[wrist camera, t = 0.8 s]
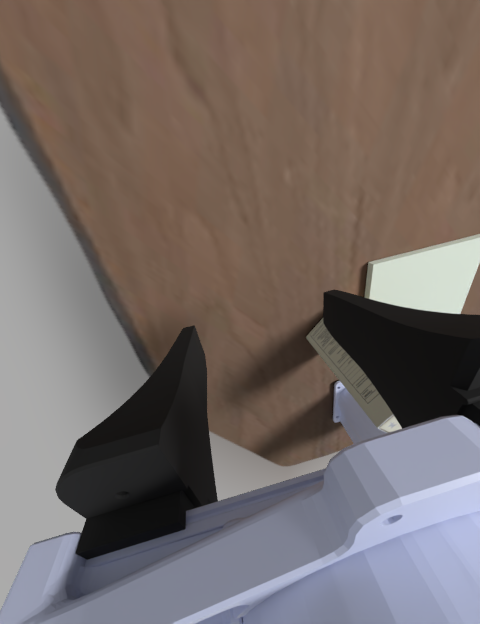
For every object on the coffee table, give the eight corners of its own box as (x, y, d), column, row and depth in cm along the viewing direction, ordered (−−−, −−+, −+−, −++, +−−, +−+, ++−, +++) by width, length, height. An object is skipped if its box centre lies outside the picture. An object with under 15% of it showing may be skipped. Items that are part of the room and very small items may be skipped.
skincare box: (326, 350, 29) (402, 444, 18) (303, 336, 27) (373, 432, 16) (363, 313, 27) (472, 394, 16) (342, 295, 25) (449, 374, 14)
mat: (445, 334, 31) (450, 338, 31) (357, 359, 31) (361, 363, 30) (481, 233, 24) (489, 234, 24) (368, 262, 23) (373, 264, 23)
